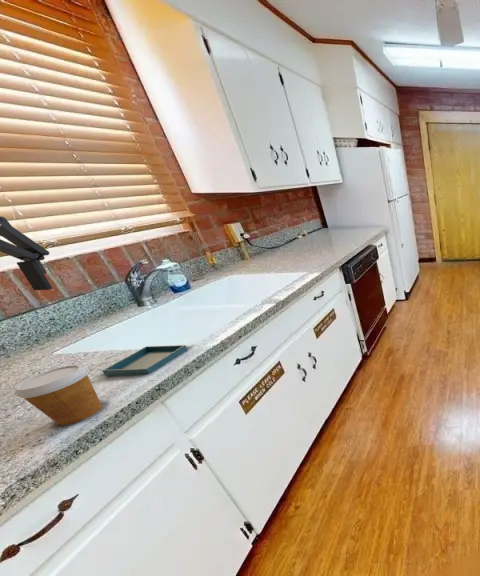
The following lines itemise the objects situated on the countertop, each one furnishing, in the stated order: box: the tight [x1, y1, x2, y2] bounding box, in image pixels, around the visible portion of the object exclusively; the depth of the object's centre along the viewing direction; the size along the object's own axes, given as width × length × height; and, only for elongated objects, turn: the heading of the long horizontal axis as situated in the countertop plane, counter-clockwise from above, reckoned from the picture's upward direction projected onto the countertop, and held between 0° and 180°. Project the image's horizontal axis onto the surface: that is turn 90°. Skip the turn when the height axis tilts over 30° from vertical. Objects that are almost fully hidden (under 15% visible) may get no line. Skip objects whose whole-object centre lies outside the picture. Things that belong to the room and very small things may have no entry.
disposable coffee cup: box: [14, 364, 103, 426], centre depth 69 cm, size 10×10×12 cm
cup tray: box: [101, 344, 189, 377], centre depth 89 cm, size 12×12×2 cm
